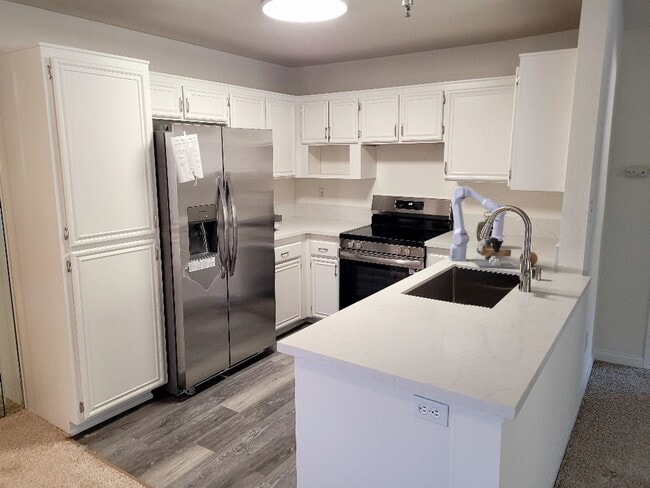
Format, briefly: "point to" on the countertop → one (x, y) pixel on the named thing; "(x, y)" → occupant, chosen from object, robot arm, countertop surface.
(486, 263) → the stand
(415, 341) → the countertop surface
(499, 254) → the bar
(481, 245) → the gun
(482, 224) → the tabletop clock
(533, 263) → the onion
